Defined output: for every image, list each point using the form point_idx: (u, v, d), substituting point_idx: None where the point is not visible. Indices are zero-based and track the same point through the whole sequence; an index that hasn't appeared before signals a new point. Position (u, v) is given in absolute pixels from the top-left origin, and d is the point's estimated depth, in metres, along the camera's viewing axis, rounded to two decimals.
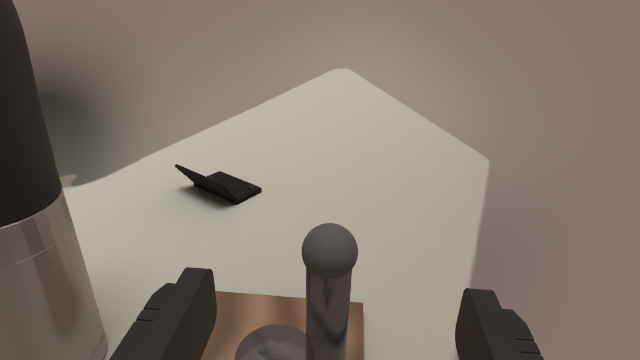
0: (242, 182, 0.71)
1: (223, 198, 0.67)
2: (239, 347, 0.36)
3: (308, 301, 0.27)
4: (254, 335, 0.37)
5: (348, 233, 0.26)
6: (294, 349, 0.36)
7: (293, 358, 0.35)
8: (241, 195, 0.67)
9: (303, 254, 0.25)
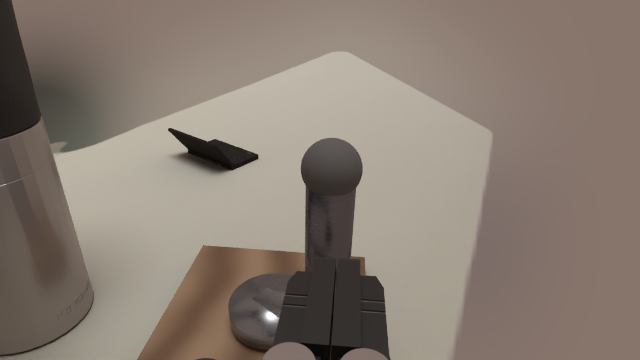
0: (238, 149, 0.68)
1: None
2: (233, 294, 0.34)
3: (308, 226, 0.25)
4: (249, 283, 0.35)
5: (352, 147, 0.23)
6: None
7: None
8: (237, 161, 0.64)
9: (302, 170, 0.23)
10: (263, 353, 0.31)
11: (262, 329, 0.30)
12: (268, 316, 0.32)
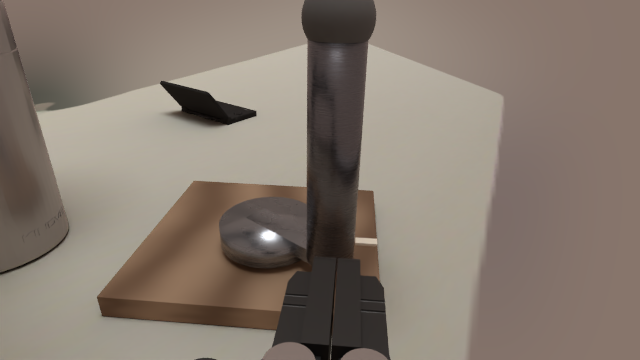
0: (235, 106, 0.64)
1: (214, 119, 0.61)
2: (225, 214, 0.29)
3: (310, 94, 0.21)
4: (244, 205, 0.31)
5: None
6: (292, 216, 0.29)
7: (291, 223, 0.28)
8: (234, 116, 0.60)
9: (303, 14, 0.19)
10: (259, 273, 0.27)
11: (258, 244, 0.26)
12: (265, 232, 0.27)
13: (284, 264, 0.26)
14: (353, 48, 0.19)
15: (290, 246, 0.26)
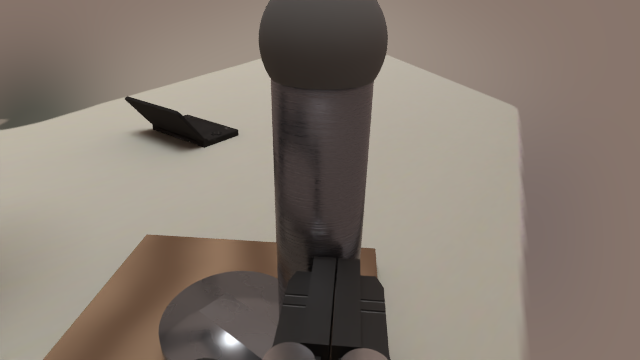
0: (214, 124, 0.56)
1: None
2: (171, 304, 0.21)
3: (277, 168, 0.12)
4: (199, 287, 0.22)
5: None
6: (265, 306, 0.21)
7: (262, 320, 0.20)
8: (211, 136, 0.52)
9: (260, 37, 0.11)
10: None
11: None
12: (223, 340, 0.19)
13: None
14: (348, 97, 0.11)
15: None
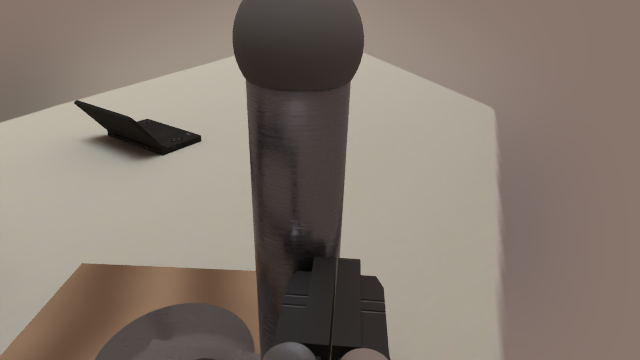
0: (175, 129, 0.52)
1: (146, 148, 0.48)
2: None
3: (270, 178, 0.12)
4: (114, 346, 0.19)
5: None
6: (206, 335, 0.19)
7: (212, 350, 0.18)
8: (170, 143, 0.48)
9: (252, 41, 0.10)
10: None
11: None
12: None
13: None
14: (343, 94, 0.11)
15: None
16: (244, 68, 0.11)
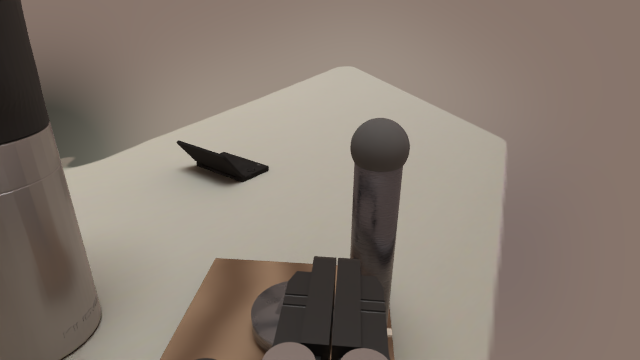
0: (247, 161, 0.67)
1: (228, 176, 0.63)
2: (253, 317, 0.31)
3: (365, 208, 0.25)
4: (260, 301, 0.32)
5: (396, 123, 0.25)
6: None
7: None
8: (247, 173, 0.63)
9: (363, 152, 0.24)
10: None
11: None
12: None
13: (331, 344, 0.30)
14: (400, 171, 0.25)
15: None
16: (357, 161, 0.24)
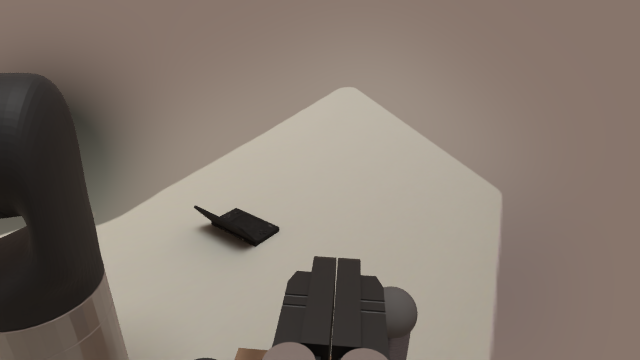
0: (259, 220, 0.71)
1: (242, 238, 0.68)
2: None
3: None
4: None
5: (406, 292, 0.30)
6: None
7: None
8: (260, 236, 0.67)
9: None
10: None
11: None
12: None
13: None
14: (409, 333, 0.29)
15: None
16: None
